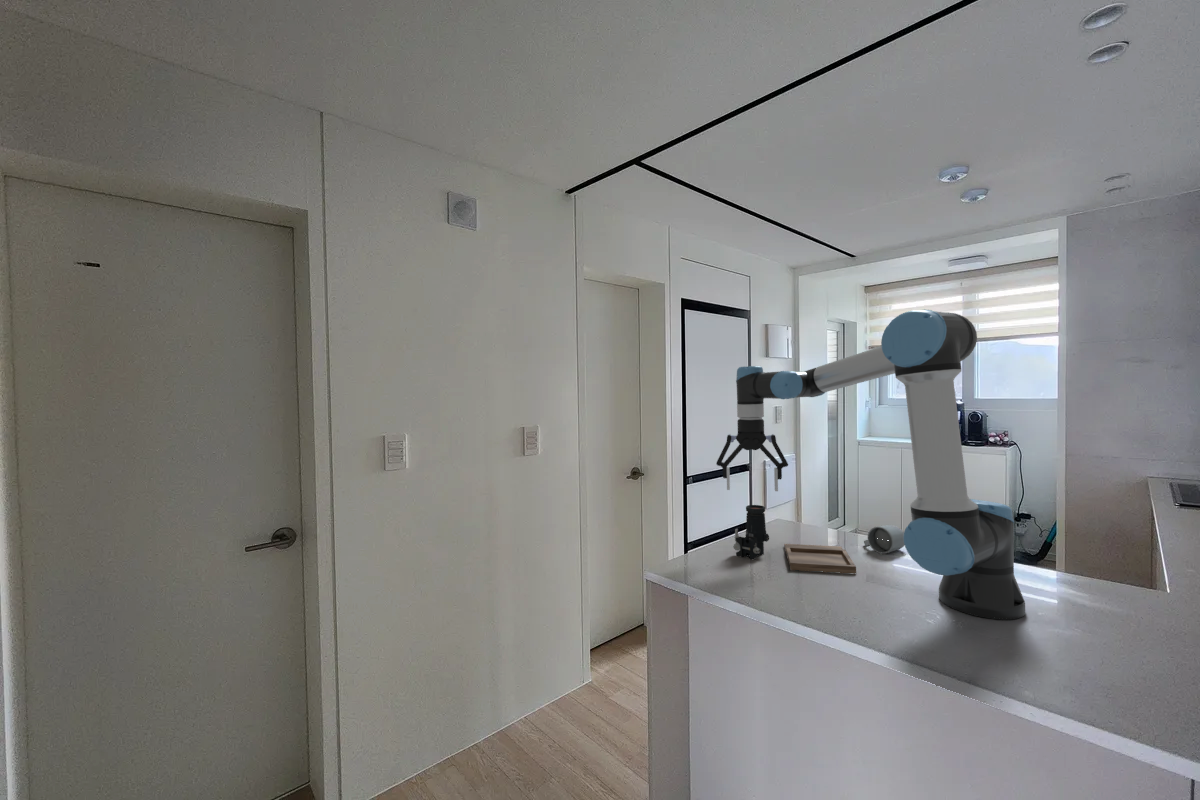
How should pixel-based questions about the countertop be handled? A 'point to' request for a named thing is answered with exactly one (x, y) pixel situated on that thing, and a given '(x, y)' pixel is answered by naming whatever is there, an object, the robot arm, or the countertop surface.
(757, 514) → the scope
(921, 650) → the countertop surface
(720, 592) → the countertop surface
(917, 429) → the robot arm
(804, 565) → the wooden tray
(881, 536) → the ceramic mug
